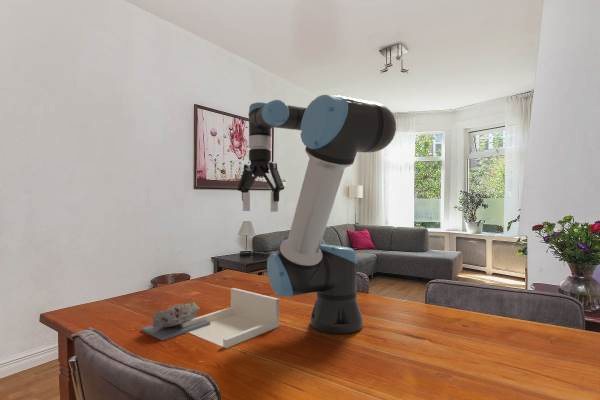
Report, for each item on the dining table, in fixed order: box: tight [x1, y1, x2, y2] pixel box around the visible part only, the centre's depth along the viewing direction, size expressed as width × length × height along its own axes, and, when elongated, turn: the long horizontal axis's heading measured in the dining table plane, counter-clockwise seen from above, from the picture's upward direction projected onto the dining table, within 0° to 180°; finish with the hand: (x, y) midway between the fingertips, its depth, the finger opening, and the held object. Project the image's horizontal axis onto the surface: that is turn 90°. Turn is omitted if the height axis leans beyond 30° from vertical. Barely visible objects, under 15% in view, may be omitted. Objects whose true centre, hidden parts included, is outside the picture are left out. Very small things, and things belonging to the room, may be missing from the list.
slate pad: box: [141, 315, 210, 341], centre depth 99 cm, size 11×15×1 cm
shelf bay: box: [181, 287, 280, 349], centre depth 99 cm, size 20×19×8 cm
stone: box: [151, 301, 201, 328], centre depth 100 cm, size 13×6×10 cm
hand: (259, 211), depth 120 cm, fingers open, 13 cm apart
